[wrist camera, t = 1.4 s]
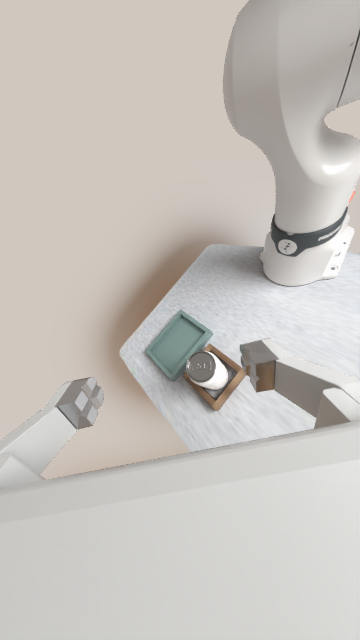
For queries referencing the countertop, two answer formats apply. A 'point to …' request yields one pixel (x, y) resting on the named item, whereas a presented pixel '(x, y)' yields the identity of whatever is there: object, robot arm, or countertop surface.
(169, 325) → the tray
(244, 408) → the countertop surface
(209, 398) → the collar
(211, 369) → the can
